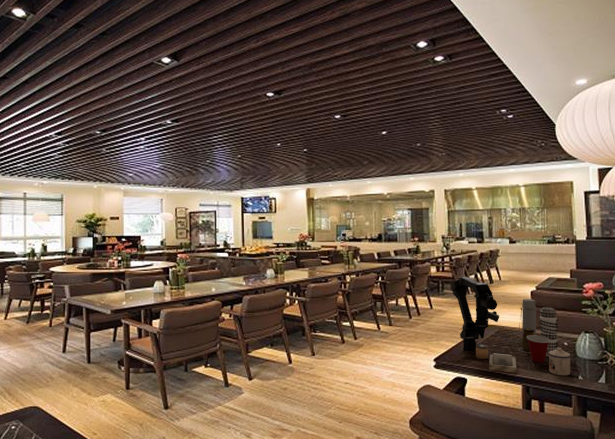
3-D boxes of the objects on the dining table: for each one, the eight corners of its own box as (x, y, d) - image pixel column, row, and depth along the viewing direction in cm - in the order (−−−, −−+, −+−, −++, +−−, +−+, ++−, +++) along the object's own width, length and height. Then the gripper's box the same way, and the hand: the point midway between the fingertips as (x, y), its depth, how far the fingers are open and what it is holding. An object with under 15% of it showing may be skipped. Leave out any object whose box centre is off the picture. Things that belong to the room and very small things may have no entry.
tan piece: (489, 369, 212) (489, 364, 212) (490, 359, 228) (490, 354, 228) (516, 372, 207) (516, 367, 207) (515, 361, 223) (515, 356, 223)
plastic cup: (538, 365, 217) (537, 341, 217) (522, 358, 228) (521, 336, 228) (555, 363, 220) (555, 339, 220) (539, 357, 231) (538, 334, 231)
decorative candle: (546, 350, 241) (545, 306, 242) (562, 355, 233) (561, 308, 233) (535, 353, 237) (534, 307, 238) (551, 357, 229) (550, 310, 229)
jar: (475, 358, 230) (475, 346, 230) (476, 354, 235) (475, 343, 235) (488, 359, 227) (488, 348, 227) (488, 356, 233) (488, 345, 233)
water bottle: (536, 341, 262) (536, 299, 262) (535, 344, 255) (535, 301, 255) (520, 339, 267) (519, 298, 267) (518, 342, 260) (517, 300, 260)
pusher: (493, 364, 218) (493, 354, 218) (493, 363, 220) (493, 353, 220) (511, 367, 214) (511, 356, 214) (511, 365, 217) (511, 355, 217)
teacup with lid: (546, 368, 212) (546, 344, 212) (567, 370, 210) (566, 346, 210) (553, 377, 201) (553, 351, 201) (575, 378, 198) (575, 353, 198)
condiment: (538, 351, 241) (538, 329, 241) (530, 353, 237) (529, 331, 237) (525, 348, 247) (525, 327, 248) (517, 350, 243) (517, 329, 243)
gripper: (498, 310, 220) (499, 341, 220) (497, 305, 237) (498, 333, 237) (474, 309, 225) (475, 339, 224) (476, 304, 242) (476, 332, 241)
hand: (482, 336), depth 231 cm, fingers open, 9 cm apart
